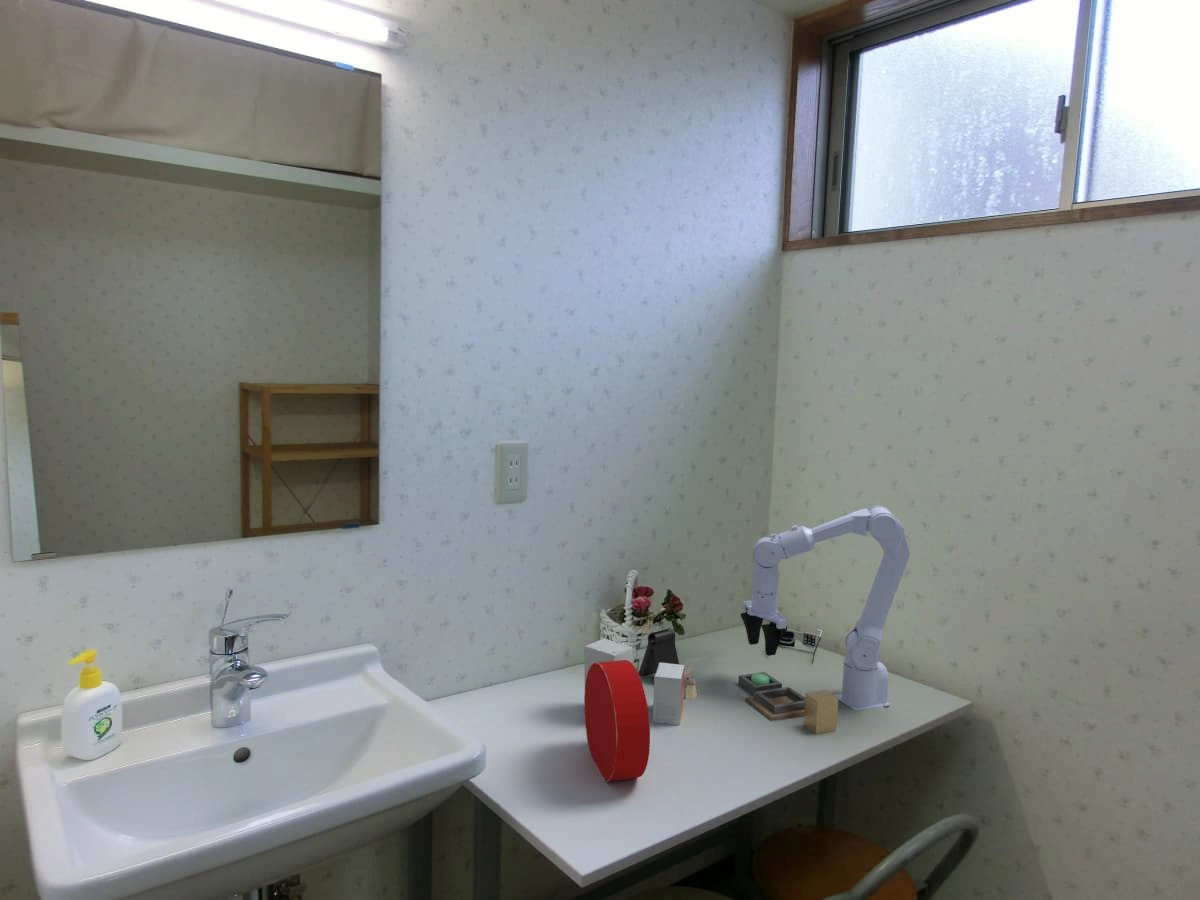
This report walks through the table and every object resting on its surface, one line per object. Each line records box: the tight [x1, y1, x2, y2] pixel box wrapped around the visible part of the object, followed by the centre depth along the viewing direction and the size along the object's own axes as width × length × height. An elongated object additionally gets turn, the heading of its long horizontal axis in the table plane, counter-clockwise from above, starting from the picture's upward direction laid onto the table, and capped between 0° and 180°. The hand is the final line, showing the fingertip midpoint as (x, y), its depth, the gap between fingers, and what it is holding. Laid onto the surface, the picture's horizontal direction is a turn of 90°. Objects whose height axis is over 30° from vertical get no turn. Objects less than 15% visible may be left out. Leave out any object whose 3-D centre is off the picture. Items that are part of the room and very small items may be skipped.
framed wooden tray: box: [744, 686, 806, 722], centre depth 167 cm, size 12×10×2 cm
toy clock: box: [583, 660, 651, 783], centre depth 137 cm, size 20×6×20 cm, turn 17°
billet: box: [803, 689, 839, 735], centre depth 157 cm, size 5×4×7 cm
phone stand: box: [638, 627, 680, 678], centre depth 178 cm, size 9×6×12 cm, turn 39°
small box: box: [652, 663, 685, 726], centre depth 159 cm, size 8×6×10 cm
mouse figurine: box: [683, 667, 699, 700], centre depth 171 cm, size 5×8×7 cm, turn 38°
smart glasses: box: [778, 628, 823, 665], centre depth 200 cm, size 12×14×5 cm
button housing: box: [737, 671, 783, 696], centre depth 176 cm, size 7×7×2 cm
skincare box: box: [583, 638, 634, 684], centre depth 158 cm, size 8×7×16 cm
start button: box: [751, 673, 769, 685], centre depth 176 cm, size 4×4×2 cm
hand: (761, 649), depth 175 cm, fingers open, 6 cm apart
